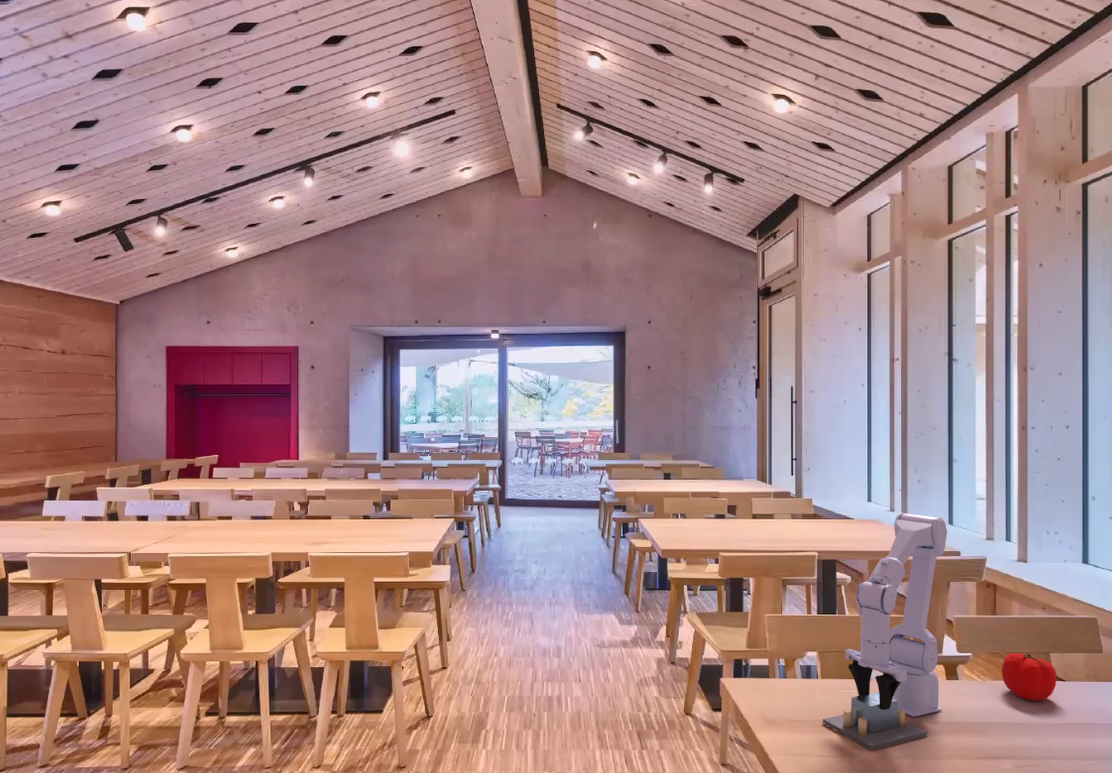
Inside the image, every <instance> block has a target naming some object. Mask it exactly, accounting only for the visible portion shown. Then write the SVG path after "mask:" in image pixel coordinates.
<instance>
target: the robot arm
mask: <svg viewBox="0 0 1112 773" xmlns="http://www.w3.org/2000/svg"><path fill="white" fill-rule="evenodd" d="M893 524H894V528H893V529H894V534H895V535H894V536H895V538H894V540H893V542H892V545H891V547H890V550H889V552H888V554H887V556H886V557H882V558H880V559H879V560H878V562H877V563H876V565H875V567H874V568H873V571H871V572H872V573H871V575H870V576H869V578H868V580H867V581H866V580H865V581H863V582H861V583H859V584H858V586H857V588H856V595H855V603H856V606H857V610H858V611H857V613H858V616H859V617H860V651H859V650H855V649H853V648H848V649H845V653H844V656H845V657H844V658H845V659H846V660H849V661H852V662H851V663H849V664H848V668H847V669H848V670H849V671H850V673H851V675H852V677H853V679H854V683H855V686H856V689H857V690H856V691H857V693H858V694H857V696H860V695H865V694H870V693H871V692H870V687H871V680H872V674H873V670H874V671H877V672H879V673H881V674H880V675H875V677H874V678H875V680H876V683H877V688H878V692H879V701H880V708H881V709H882V710H886V709H890V706H891V702H892V699H895V700H897V701H898V709H902V710H904V711H905V715H907V716H911V717H914V718H915V717H919V716H923V715H928V714H932V713H936V712H940V711H942V707H940V706H939V679H938V675H937V674H936V672H935V671H934V670H935V669H936V667H937V663H938V659H939V658H938V656H939V655H938V640H937V638H936V637H935V636H934V635H933V634H932V632H930V631H929V630H928V629H927V623H928V618H929V617H928V615H929V610H930V609H929V608H930V602H931V595H932V587H933V581H934V580H933V579H934V574H935V569H936V568H935V567H936V563H937V557H939V556H943V555H944V551H945V548H946V542H947V535H948V534H947V533H948V530H947V526H946V525H947V523H946V522H945V521H944V519H943V518H942V517H941V516H939V517H935V516H934V517H933V516H928V515H927V516H925V515H919V514H912V513H906V512H900V513H899V514H898V515H897V516H896V517H895V520H894V523H893ZM911 556H912V558H911V564H910V572H909V577H908V578H909V579H908V584H907V591H906V598H905V604H904V609H903V610H904V612H903V617H902V622H901V623H899V624H898V625H895V626H893V627H891V613H892V611H894V609H895V606H896V600H897V596H898V591H897V589H898V588H899V586H900V584H901V583H902V580H903V579H904V576H905V575H906V568H905V567H904V565H905V564H906V563H907V561H908V559H910V557H911ZM906 637H908V638H906ZM910 638H912V639H910ZM913 639H915V640H913ZM918 640H920V641H918Z"/></svg>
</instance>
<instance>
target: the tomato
mask: <svg viewBox="0 0 1112 773" xmlns="http://www.w3.org/2000/svg"><path fill="white" fill-rule="evenodd" d="M1001 674H1002V675H1001V677H1002V681H1003V682H1004V685H1005V686H1006V687H1007V689H1008V690H1009V691H1010V692H1011V693H1013V694H1014V695H1016V696H1017V697H1018V698H1020V699H1023V700H1027V701H1034V702H1036V701H1045V700H1046V699H1047V698H1049V697H1051V695H1052V694H1053V692H1054V691H1055V688H1056V684H1057V673H1056V668H1055V667H1054V666H1053V665H1052V664H1051V663H1050V662H1049V661H1046V659H1045V658H1044V659H1043V658H1040V657H1039V656H1036V655H1033V654H1029V653H1028V652H1027V651H1024V652H1018V651H1017V652H1015V651H1013V652H1010V653H1009V654H1007V655H1006V656H1005V657H1004V660H1003V662H1002V665H1001Z"/></svg>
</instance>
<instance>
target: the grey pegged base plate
mask: <svg viewBox="0 0 1112 773" xmlns="http://www.w3.org/2000/svg"><path fill="white" fill-rule="evenodd" d="M851 721H852V712H851V710H850V709H847V710H846V709H844V710H843V713H842V714H841V715H836V716H830V717H827V718H823V719H822V724H823V723H825V724H826V725H828V726H830V727H831V728H830V727H829V728H830V729H832V728H833V729H835V730H837V731H838V732H837V731H836V732H837V733H839V732H840V733H839V734H840V735H842V734H843V736H844V737H845V738H848V739H850V740H852V741H853V742H855V743H857V744H859V745H861V746H863V748H866V749H868V750H869V751H875V750H878V749H882V748H887V747H891V746H896V745H899V744H902V743H905V742H906V743H907V742H911V741H915V740H918V739H923V738H925V737H926V738H927V737H928V731H926V730H925V729H923V728H920V727H918V726H916V725H914V724H912V723H910V722H907V721H906V713H905V711H904V710H902V709H898V717H897V727H894V728H889V729H885V730H881V731H876V732H872V733H869V732H867V720H866V719H865V718H858V726H856V725H854V724H852V723H851ZM826 725H825V726H826ZM828 726H827V727H828ZM833 729H832V730H833ZM835 730H834V731H835Z"/></svg>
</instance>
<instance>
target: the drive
mask: <svg viewBox="0 0 1112 773" xmlns="http://www.w3.org/2000/svg"><path fill="white" fill-rule="evenodd" d="M850 701H851V704H850V705H851V710H850V711H851V712H852V721H851V723H852V724H854V725H856V726H858V718H865V719H866V720H867V732H869V733H872V732H876V731H881V730H885V729H889V728H894V727H897V717H898V701H897V700H895V699H892V702H891V706H890V709H886V710H882V709H881V708H880V701H879V691H877V692H876V691H875V692H872V693H871V692H870V693H869V694H865V695H860V696H859V695H856V696H851V699H850Z"/></svg>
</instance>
